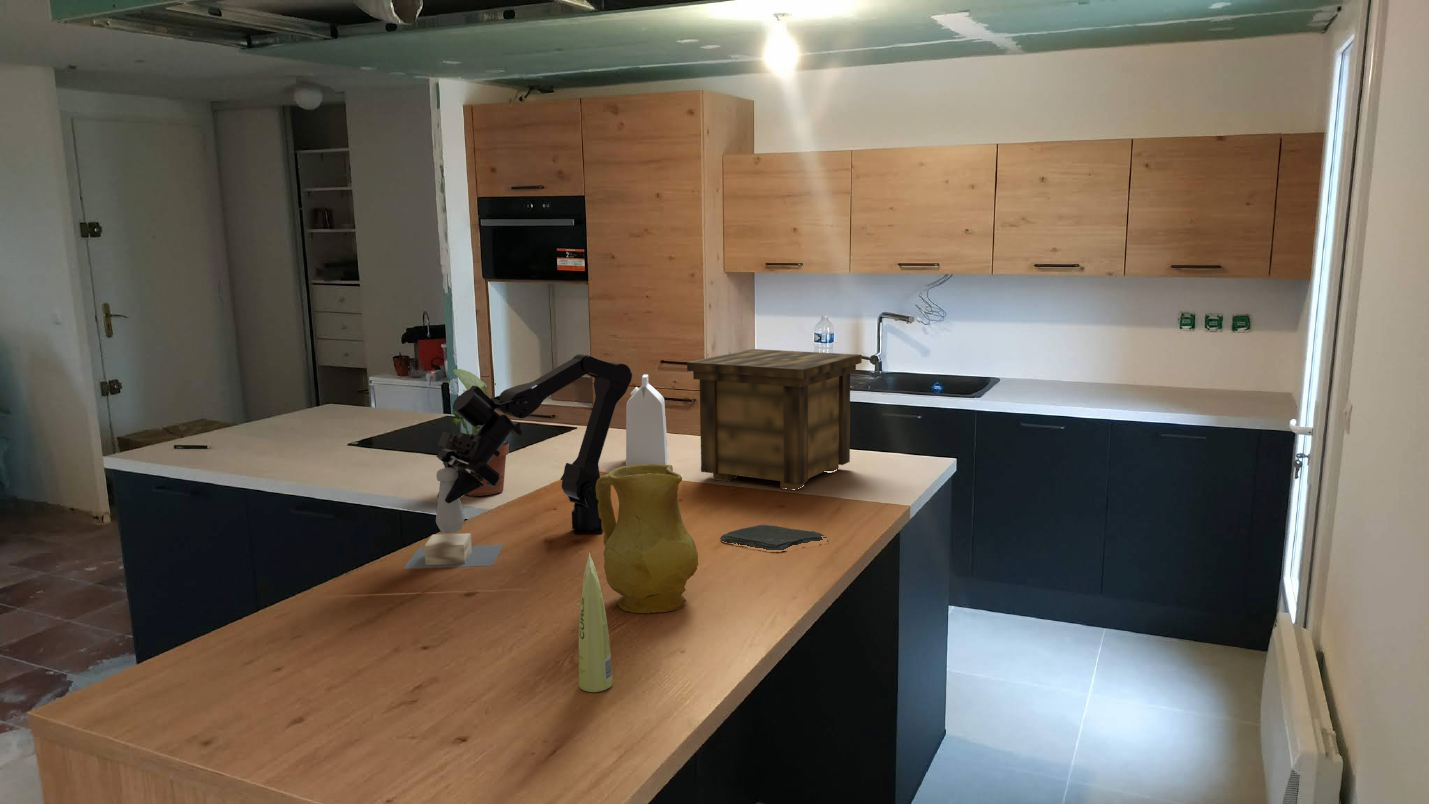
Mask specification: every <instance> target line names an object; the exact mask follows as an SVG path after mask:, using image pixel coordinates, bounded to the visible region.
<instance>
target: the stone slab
mask: <svg viewBox="0 0 1429 804" xmlns="http://www.w3.org/2000/svg"><path fill="white" fill-rule="evenodd" d="M821 536H825V535H824V534H822V533H820V532H819V531H818V532H817V531H814V530H812V531H810V530H809V531H808V530H804V529H795V528H788V527H782V526H778V525H768V524H757V525H754V526H748V527H745V528H739V529H736V530H732V531H729V532H726V533H724V534H722V535H721V536H720V538H719V539H720V541H721V540H722V541H724V542H727V543H734V544H736V543H737V544H738V545H739V544H740V545H747V546H750V547H755V548H763V549H766V550H784V549H786V548H788V547H790V546H792V545H798V544H801V543H808V542H810V541H820V540H823V539H822V537H821ZM827 537H828V536H826V537H823V538H827Z"/></svg>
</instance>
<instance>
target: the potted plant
mask: <svg viewBox="0 0 1429 804" xmlns="http://www.w3.org/2000/svg"><path fill="white" fill-rule="evenodd" d="M452 371H453V373H454V375H455V376H456V377H457V379H458V380H459V382H460V383H462V385H463V386H464V388H465V389H462V393H464V392H465V391H467V390H469V389H470V388H471V387H472V386H473V385H474V386H478V387H479V388H480V389H481V390H482V391H483V392H484V393H485V394H486V395H487V396H488V397H489V398H490V395H489V394H488V392H487V390H486V389H487V386H488V385H487V384H486V383H485V382H484V381H483V380H482V379H481V378H479V377H478V376H477V375H476V374H474V373H472V372H470V371H468V370H464V369H462V368H455V369H453V370H452ZM452 413H453V416H454V417H453V418H452V420H451V424H452V425H453V427H454V428H455V429H458V428H459V425H460V424H462V427H463V428H464V430H465V431H466V434H468V435H471V434H473V435H475V434H476V433H477V432H478V430H479V429H480V428H481V426H480V425H478V426H472V425H471V429H472V430H471V433H470V430H469V429H468V424H467V421H466V420H465V419H464V418H463V417H461V416H460V415H459V414H458V413H457V412H455V411H454V410H453V409H452ZM509 447H510V443H509V441H508V440H507V439H506V440H505V441H504V443H503V444H502V445H501V447H500V448H499V450H498V452H500V454H499V456H498V457H496V456H493V458H492V459H491V460H490V462H489V463H488V465H489V466H490V467H492V468H493V469H494V470H495V471H496V472H498V473H499V474H500V481H499V482H498V483H497V485H496V486H495V488H494V487H492V486H489V485H488V484H487V481H486V480H483V482H482V484H483V485H484V486H483V487H479V488H477V489H475V490H473V491H471V492H469V493H467V494H466V495H467V496H477V497H478V496H490V495H491V496H492V495H495V494H498V493H501V492H502V493H503V491H504V486H505V475H506V473H505V472H506V460H507V459H506V457H507V455H509V451H510V450H509V449H510V448H509ZM453 451H456V450H453Z"/></svg>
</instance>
